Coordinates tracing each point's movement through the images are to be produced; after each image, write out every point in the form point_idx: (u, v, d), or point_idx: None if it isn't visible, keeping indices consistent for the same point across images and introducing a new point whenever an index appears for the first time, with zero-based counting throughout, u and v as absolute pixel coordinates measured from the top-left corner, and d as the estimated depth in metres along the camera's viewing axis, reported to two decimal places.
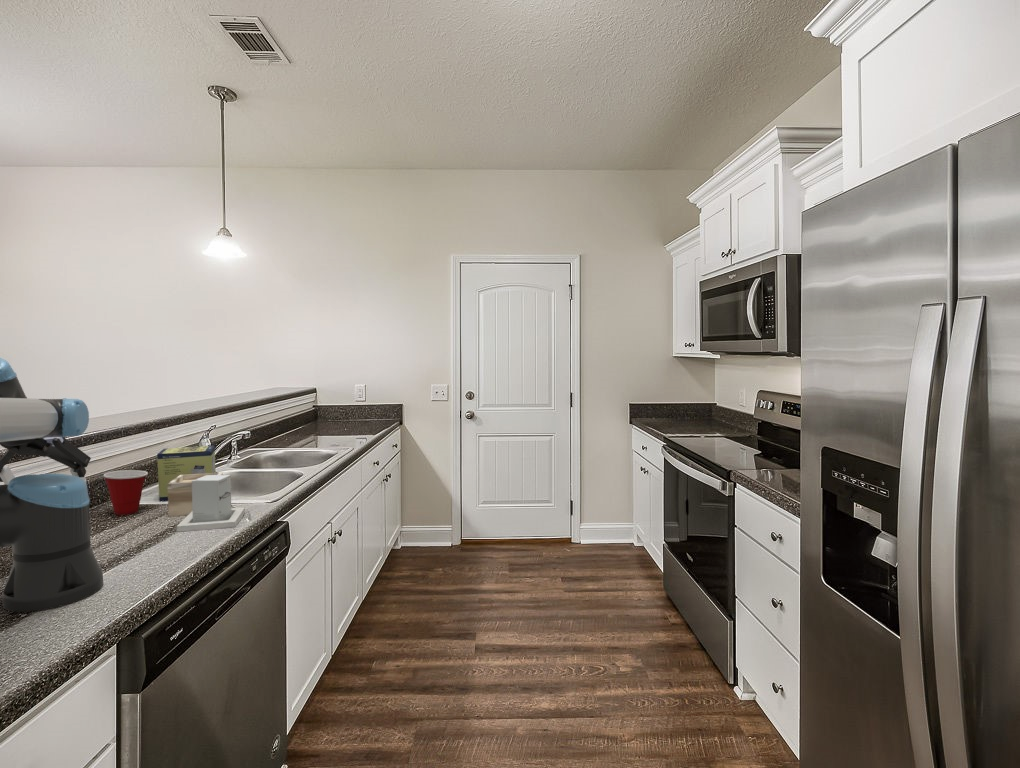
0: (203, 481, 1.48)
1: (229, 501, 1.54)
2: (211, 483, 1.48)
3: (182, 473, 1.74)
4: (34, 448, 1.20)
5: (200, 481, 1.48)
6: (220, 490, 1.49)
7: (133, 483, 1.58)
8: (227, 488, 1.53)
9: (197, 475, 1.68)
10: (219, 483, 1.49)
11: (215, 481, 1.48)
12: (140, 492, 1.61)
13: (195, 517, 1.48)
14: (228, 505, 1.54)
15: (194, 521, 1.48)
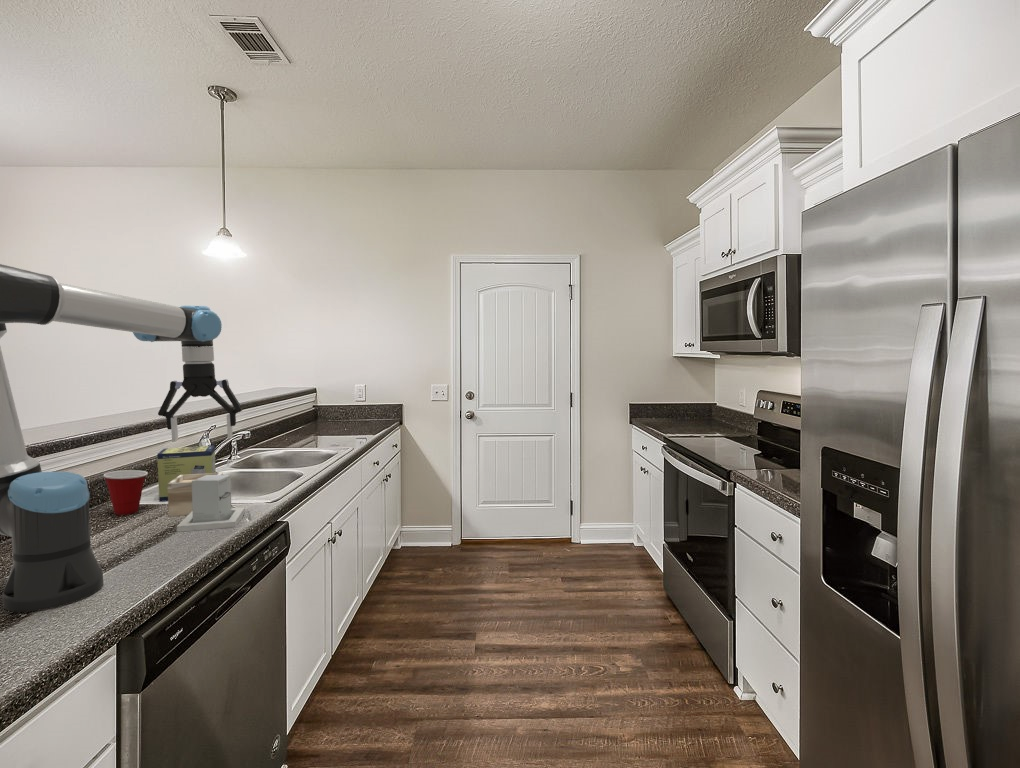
0: (203, 481, 1.48)
1: (229, 501, 1.54)
2: (211, 483, 1.48)
3: (182, 473, 1.74)
4: (207, 386, 1.48)
5: (200, 481, 1.48)
6: (220, 490, 1.49)
7: (133, 483, 1.58)
8: (227, 488, 1.53)
9: (197, 475, 1.68)
10: (219, 483, 1.49)
11: (215, 481, 1.48)
12: (140, 492, 1.61)
13: (195, 517, 1.48)
14: (228, 505, 1.54)
15: (194, 521, 1.48)
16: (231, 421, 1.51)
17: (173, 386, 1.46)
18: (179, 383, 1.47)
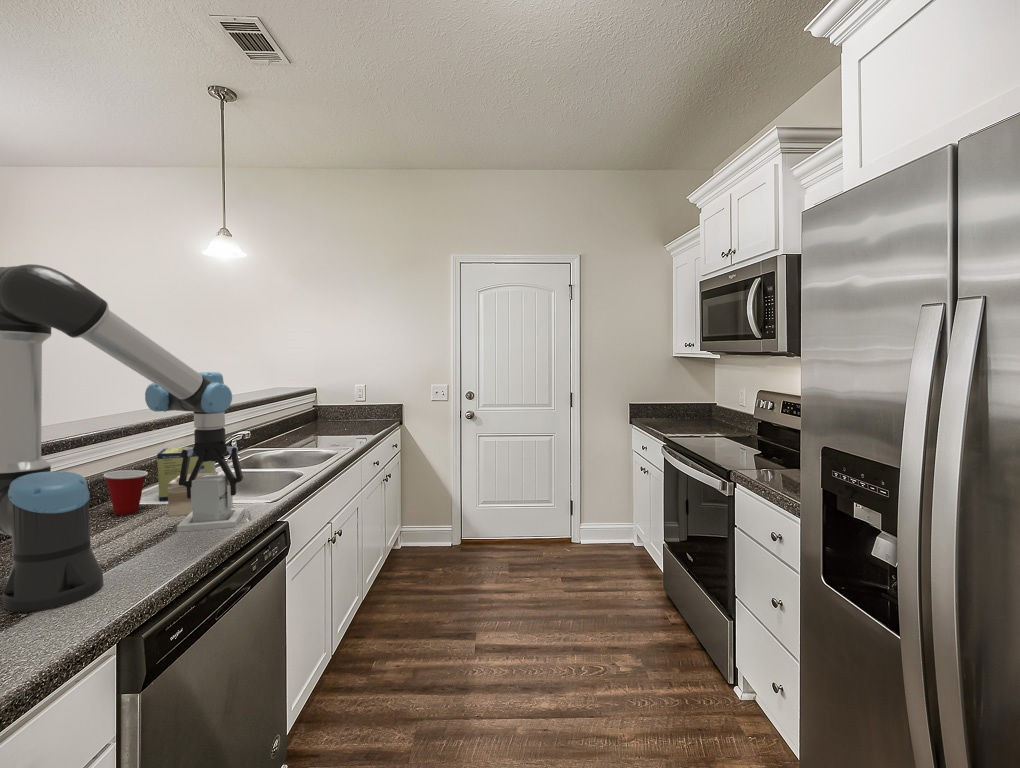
0: (203, 481, 1.48)
1: None
2: (212, 483, 1.48)
3: None
4: (217, 452, 1.49)
5: (200, 481, 1.48)
6: (221, 490, 1.49)
7: (133, 483, 1.58)
8: None
9: (197, 475, 1.68)
10: (219, 483, 1.49)
11: (215, 481, 1.48)
12: (140, 492, 1.61)
13: (195, 517, 1.48)
14: None
15: (194, 521, 1.48)
16: (231, 491, 1.52)
17: (185, 454, 1.48)
18: (190, 450, 1.49)
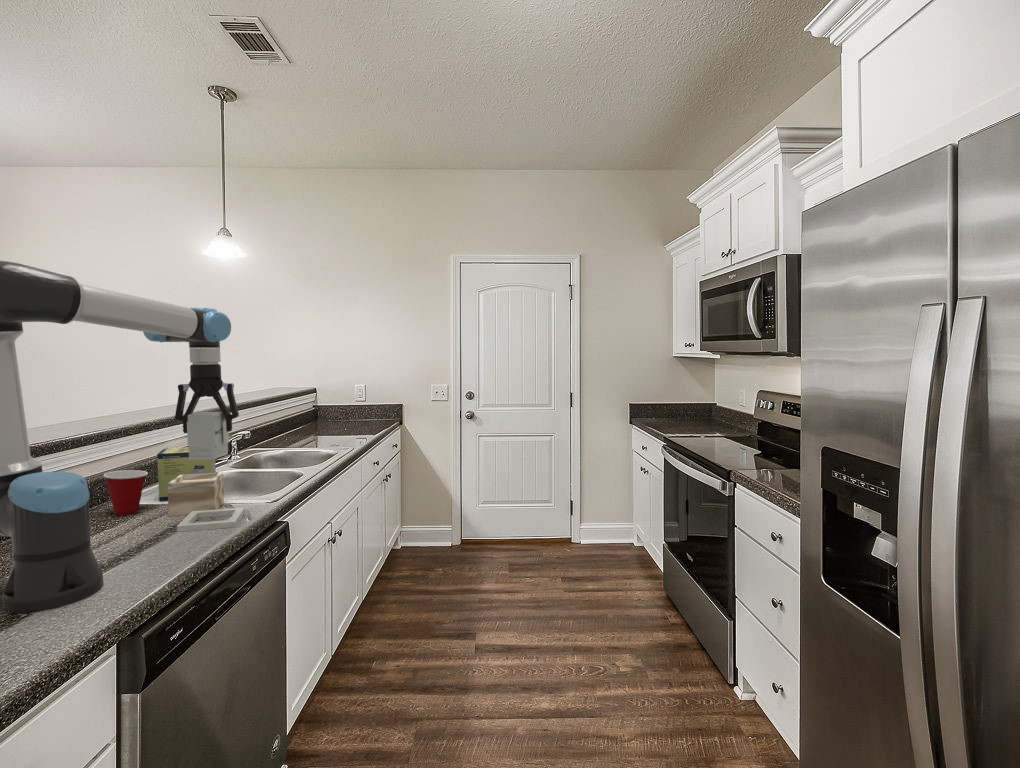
0: (199, 415, 1.49)
1: None
2: (207, 417, 1.49)
3: (182, 473, 1.74)
4: (212, 388, 1.51)
5: (196, 415, 1.49)
6: (216, 425, 1.50)
7: (133, 483, 1.58)
8: None
9: (197, 475, 1.68)
10: (215, 418, 1.50)
11: (211, 415, 1.49)
12: (140, 492, 1.61)
13: (191, 451, 1.49)
14: None
15: (190, 455, 1.49)
16: (227, 427, 1.53)
17: (181, 389, 1.49)
18: (186, 385, 1.50)
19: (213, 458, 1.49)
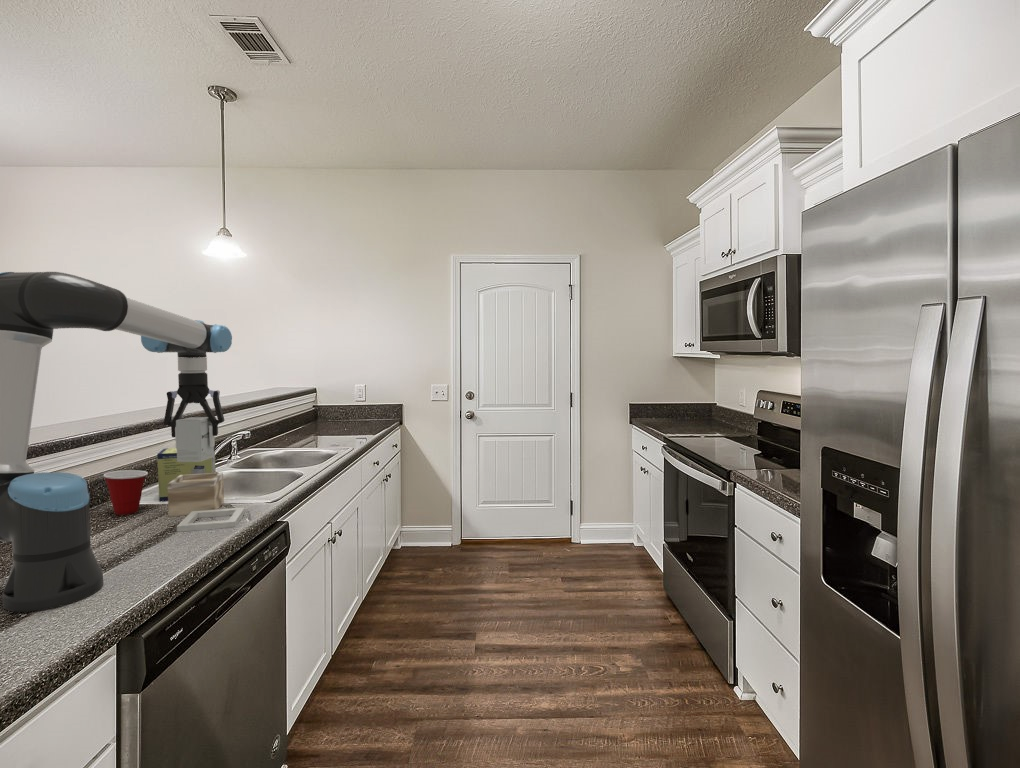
0: (186, 420, 1.59)
1: None
2: (194, 422, 1.59)
3: (182, 473, 1.74)
4: (199, 395, 1.61)
5: (184, 420, 1.59)
6: (203, 429, 1.61)
7: (133, 483, 1.58)
8: None
9: (197, 475, 1.68)
10: (202, 423, 1.60)
11: (198, 420, 1.59)
12: (140, 492, 1.61)
13: (179, 454, 1.60)
14: None
15: (178, 458, 1.60)
16: (213, 431, 1.64)
17: (170, 396, 1.59)
18: (174, 392, 1.60)
19: (200, 460, 1.60)
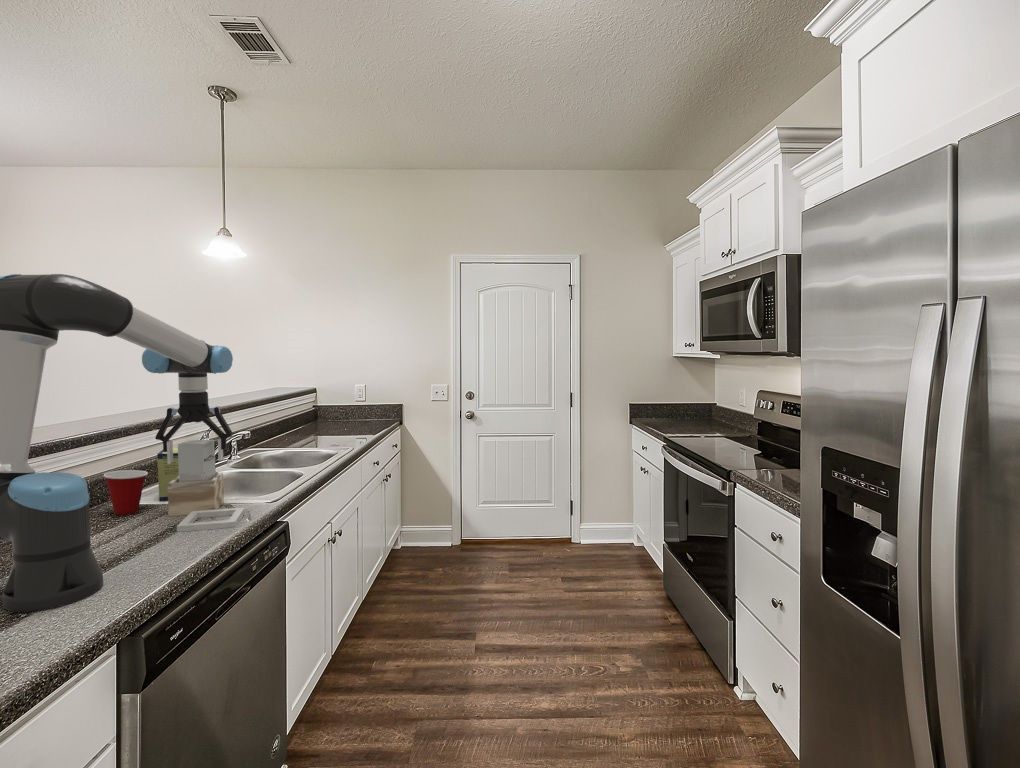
0: (189, 444, 1.59)
1: (213, 464, 1.66)
2: (197, 446, 1.60)
3: None
4: (200, 413, 1.61)
5: (186, 444, 1.59)
6: (205, 453, 1.61)
7: (133, 483, 1.58)
8: (211, 452, 1.65)
9: None
10: (204, 446, 1.61)
11: (200, 444, 1.60)
12: (140, 492, 1.61)
13: (181, 477, 1.60)
14: (212, 467, 1.66)
15: (180, 481, 1.60)
16: (222, 445, 1.64)
17: (169, 413, 1.59)
18: (175, 410, 1.60)
19: None
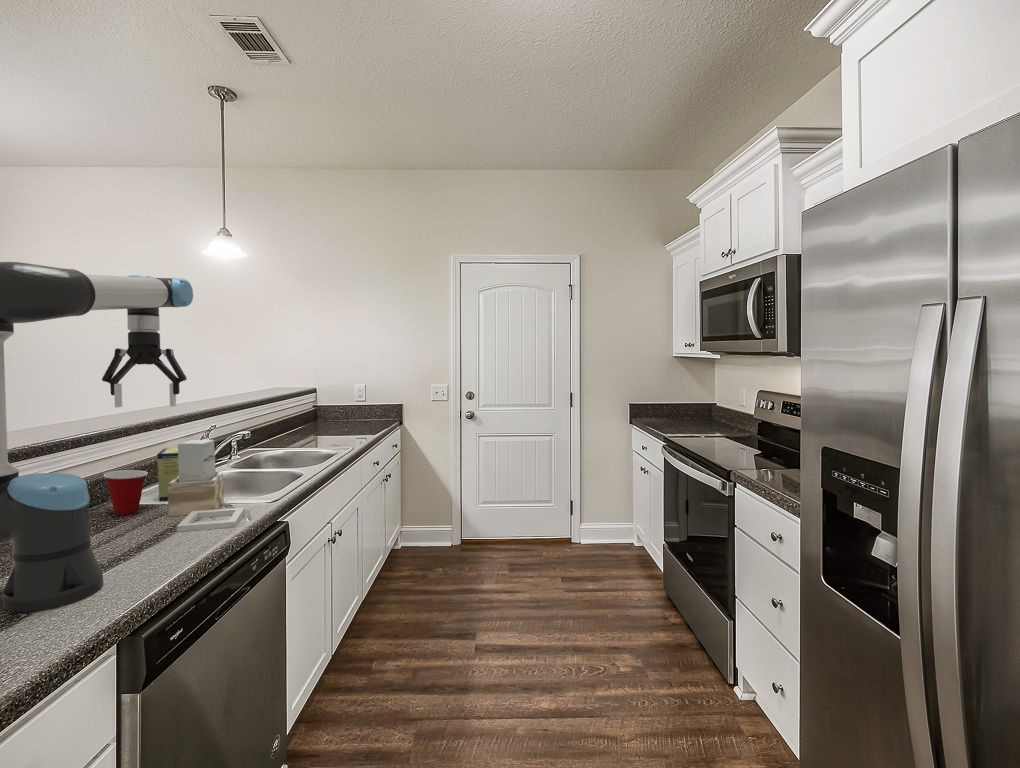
0: (189, 444, 1.59)
1: (213, 464, 1.66)
2: (197, 446, 1.60)
3: None
4: (150, 354, 1.52)
5: (186, 444, 1.59)
6: (205, 453, 1.61)
7: (133, 483, 1.58)
8: (211, 452, 1.65)
9: None
10: (204, 446, 1.61)
11: (200, 444, 1.60)
12: (140, 492, 1.61)
13: (181, 478, 1.60)
14: (212, 467, 1.66)
15: (180, 481, 1.60)
16: (174, 389, 1.55)
17: (118, 353, 1.50)
18: (124, 350, 1.51)
19: None
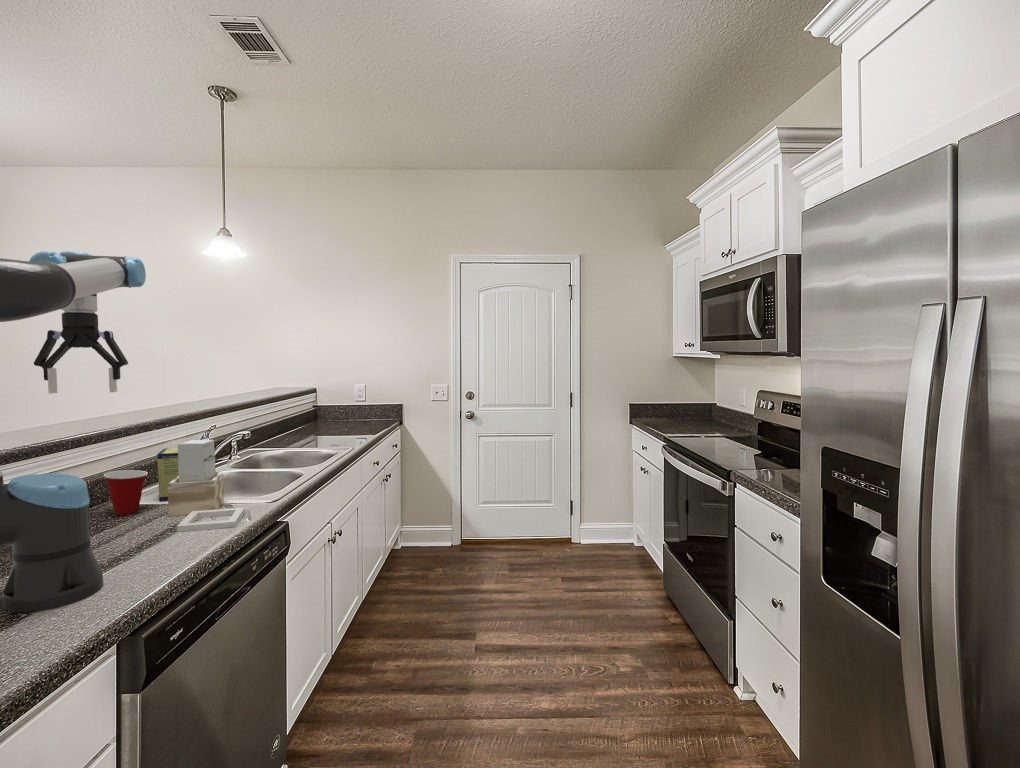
0: (189, 444, 1.59)
1: (213, 464, 1.66)
2: (197, 446, 1.60)
3: None
4: (87, 337, 1.42)
5: (186, 444, 1.59)
6: (205, 453, 1.61)
7: (133, 483, 1.58)
8: (211, 452, 1.65)
9: None
10: (204, 446, 1.61)
11: (200, 444, 1.60)
12: (140, 492, 1.61)
13: (181, 477, 1.60)
14: (212, 467, 1.66)
15: (180, 481, 1.60)
16: (114, 374, 1.45)
17: (51, 335, 1.40)
18: (58, 333, 1.41)
19: None
